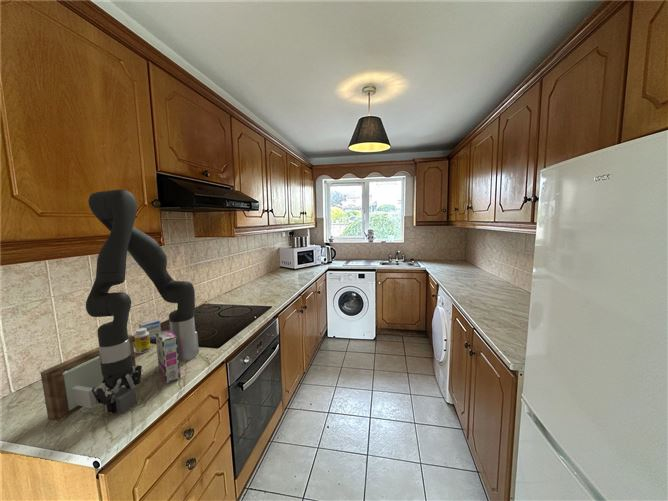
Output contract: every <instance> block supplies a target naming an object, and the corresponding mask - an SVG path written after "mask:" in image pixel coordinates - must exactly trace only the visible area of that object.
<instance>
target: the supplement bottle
mask: <svg viewBox="0 0 668 501" xmlns="http://www.w3.org/2000/svg"><path fill="white" fill-rule="evenodd" d="M133 339H134V340H133V341H134V350H135V353H136V354H144V353H147V352H149V351H151V349H152V348H151V341H150V337H149V332H147V329H146V328H140V329H139V328H137V329H136V330H135V334H134V335H133Z"/></svg>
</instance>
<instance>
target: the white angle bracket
mask: <svg viewBox="0 0 668 501" xmlns="http://www.w3.org/2000/svg"><path fill="white" fill-rule="evenodd" d="M63 379H64V386H65V392H66V398H67V405H68V411H70V410H72V409H73V408H75V407H77V406H78V405H79V406H83V407H85V408H88V409H92V408H94V407H96V406H97V400H96V398H95V396H94V394H93V392H92V389H93V388H94V387H98V386H99V385H101V384H102V381H103V375H102V372H101V364H100V357H99V356H98V357H95V358H93V359H91V360H89V361H87V362H85V363H82V364H80V365H78V366H76V367H74V368H72V369H69V370H67V371H65V372H64V373H63ZM104 389H105V390H106V386H105V388H104ZM83 407H82V408H83Z"/></svg>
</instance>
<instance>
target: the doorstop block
mask: <svg viewBox="0 0 668 501" xmlns="http://www.w3.org/2000/svg"><path fill="white" fill-rule="evenodd" d="M137 399H138V397H137V389H136V388H135V389H131V388H126V387H125V386H121V387H120V388H119V390H118V393H117V394H116V397H115V401H116V409H117V412H116V413H115V414H117V415H124V414H125V413H127V412H128V411H129V410H131V409H132V408H133V407H135V406H136V405H138V400H137ZM134 405H135V406H134ZM105 406H106V408H107V405H105ZM130 408H131V409H130ZM127 410H128V411H127ZM106 412H108V411H107V410H106ZM108 413H109V412H108Z"/></svg>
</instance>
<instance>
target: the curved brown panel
mask: <svg viewBox="0 0 668 501" xmlns="http://www.w3.org/2000/svg"><path fill="white" fill-rule="evenodd" d="M128 339H129V343H130V348H131V357H132V367H133V366H134V365H137V364H136V356H135V345H134V340H133V339H134V337H133V335H132V334H128ZM97 357H99V346H98V347H95V348H93V349H91V350H89V351H86V352H84V353H81V354H80V355H77V356H74V357H72V358H70V359H67V360H66V361H63V362H61V363H59V364H56V365H54V366H52V367H49V368H47V369H44V370H42V371H40V378H41V384H42V389H43V397H44V402H45V403H44V404H45V409H46V413H47V419H49V420H51V421H52V420H53V421H57V422H60V421H61V419H62V420H63V419H65V418H66V417H68V416H70V415H71V414H74V413H75V412H77V411H78V410H80V409H81V407H82V408H83V406H79V405H78V406H77V407H75V408H73V409H72V410H70V411H68V405H67V398H66V392H65V386H64V379H63V373H64V372H66V371H69V370H71V369H73V368H75V367H77V366H79V365H81V364H84V363H86V362H88V361H90V360H92V359H94V358H97ZM130 377H131V379H132V374H131V376H130ZM111 390H113V389H111ZM105 391H106V390H105ZM104 393H105V392H104ZM105 394H106V393H105Z"/></svg>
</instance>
